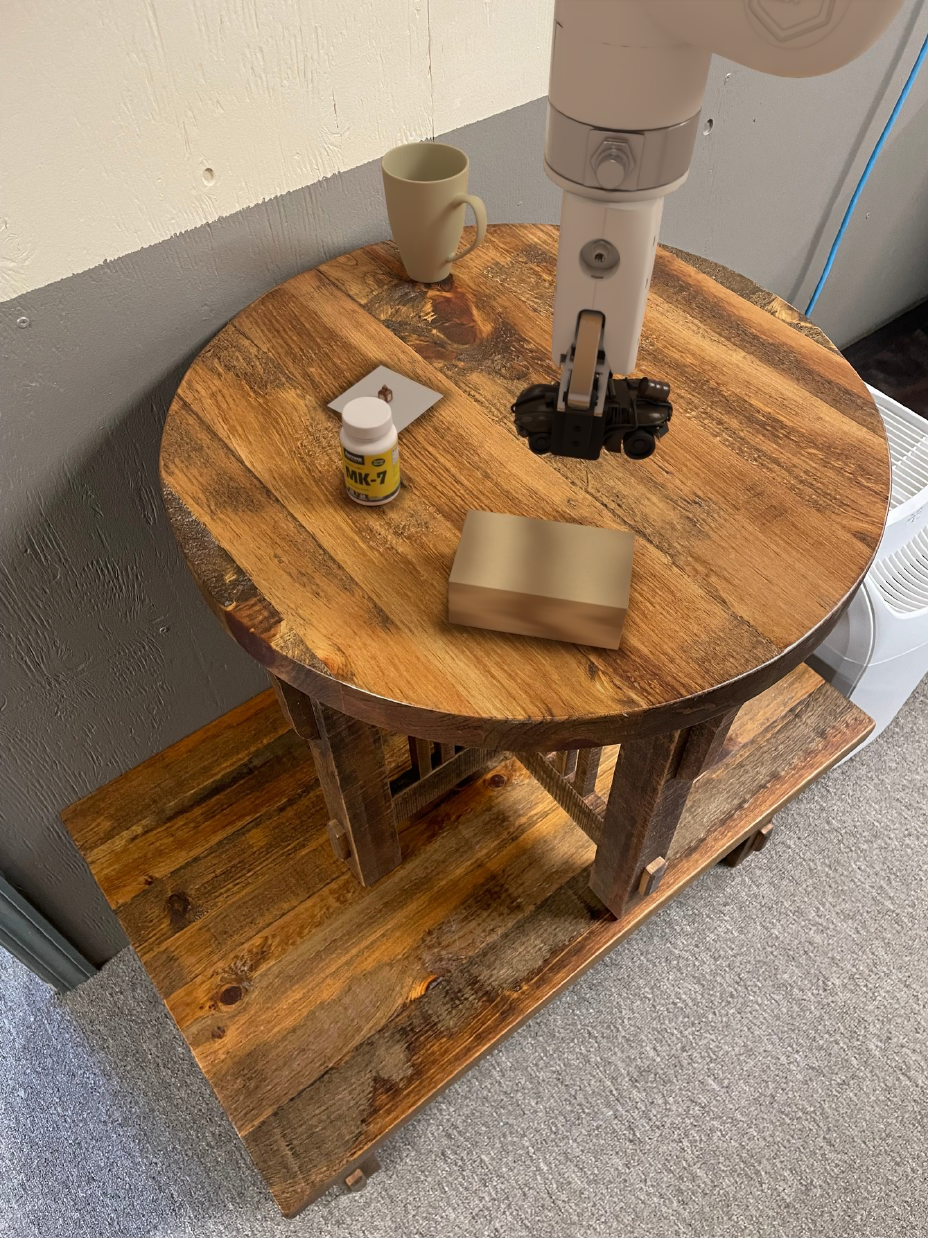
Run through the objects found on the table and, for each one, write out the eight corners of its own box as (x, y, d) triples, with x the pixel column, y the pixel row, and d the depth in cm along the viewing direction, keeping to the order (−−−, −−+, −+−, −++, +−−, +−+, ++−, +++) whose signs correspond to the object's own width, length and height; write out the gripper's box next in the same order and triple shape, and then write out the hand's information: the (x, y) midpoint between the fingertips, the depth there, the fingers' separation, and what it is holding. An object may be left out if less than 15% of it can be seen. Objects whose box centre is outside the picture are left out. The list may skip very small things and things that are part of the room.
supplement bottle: (341, 504, 74) (329, 427, 68) (352, 467, 77) (342, 390, 71) (395, 510, 74) (389, 433, 67) (405, 472, 77) (400, 395, 70)
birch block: (625, 575, 70) (635, 532, 66) (617, 650, 65) (627, 609, 61) (467, 551, 71) (468, 508, 67) (448, 623, 66) (448, 581, 63)
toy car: (675, 460, 57) (689, 406, 53) (492, 462, 56) (494, 408, 53) (660, 401, 60) (672, 347, 57) (489, 403, 60) (490, 349, 57)
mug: (384, 297, 94) (375, 185, 85) (392, 249, 100) (385, 140, 91) (484, 299, 94) (487, 188, 84) (486, 251, 100) (489, 142, 90)
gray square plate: (326, 405, 83) (324, 389, 81) (381, 365, 87) (379, 349, 85) (391, 439, 80) (389, 422, 78) (444, 395, 84) (443, 379, 82)
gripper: (685, 231, 38) (625, 519, 52) (700, 77, 49) (647, 352, 63) (517, 213, 39) (503, 501, 53) (568, 66, 49) (544, 339, 64)
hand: (581, 418), depth 58 cm, fingers closed on toy car, 6 cm apart
